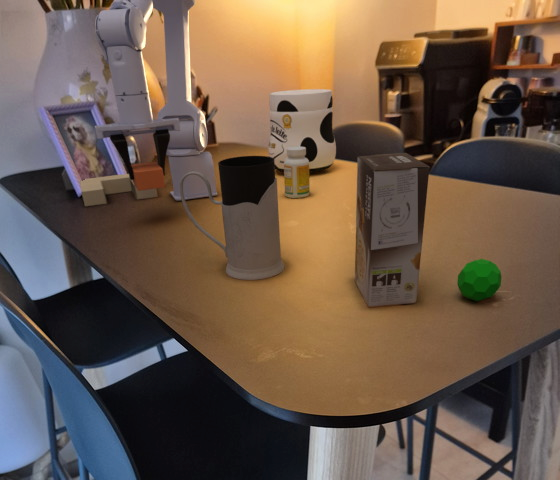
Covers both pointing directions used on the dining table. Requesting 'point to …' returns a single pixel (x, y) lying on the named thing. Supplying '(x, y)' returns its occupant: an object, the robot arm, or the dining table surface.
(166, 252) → the dining table surface
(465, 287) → the polyhedron
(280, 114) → the milk container
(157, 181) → the terracotta block
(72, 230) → the dining table surface
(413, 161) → the coffee box
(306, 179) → the supplement bottle
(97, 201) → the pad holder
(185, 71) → the robot arm
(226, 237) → the glass holder
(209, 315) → the dining table surface
